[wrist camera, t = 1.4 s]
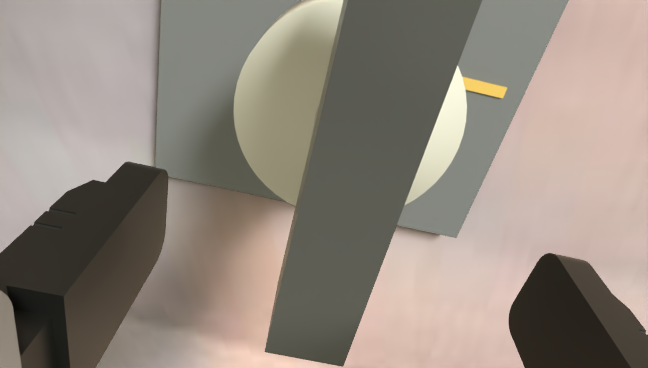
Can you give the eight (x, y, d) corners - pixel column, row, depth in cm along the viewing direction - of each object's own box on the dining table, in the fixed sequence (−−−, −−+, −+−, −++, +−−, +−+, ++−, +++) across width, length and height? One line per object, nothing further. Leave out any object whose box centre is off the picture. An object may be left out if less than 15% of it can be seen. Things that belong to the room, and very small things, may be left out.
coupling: (273, -86, 15) (202, -102, 7) (498, -27, 15) (636, 12, 8) (234, 187, 20) (170, 334, 13) (401, 223, 21) (431, 383, 14)
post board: (181, -233, 19) (90, -324, 12) (605, -113, 21) (736, -135, 14) (163, 162, 29) (106, 235, 22) (451, 225, 31) (482, 311, 24)
